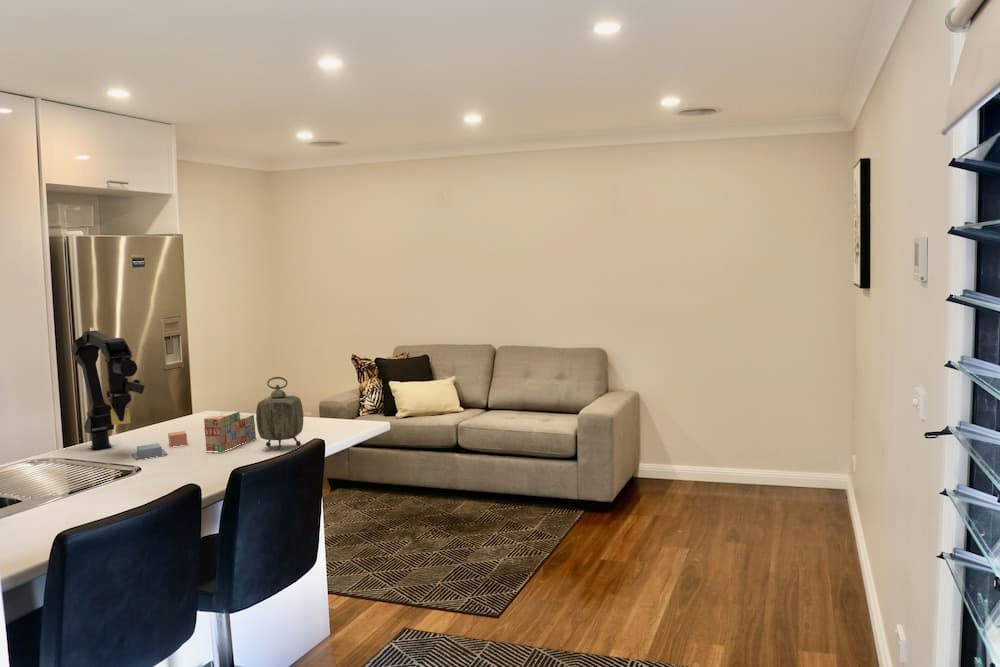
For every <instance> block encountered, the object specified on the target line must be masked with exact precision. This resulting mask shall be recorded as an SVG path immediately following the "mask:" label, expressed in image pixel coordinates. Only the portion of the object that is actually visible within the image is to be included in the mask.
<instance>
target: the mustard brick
mask: <svg viewBox="0 0 1000 667" xmlns="http://www.w3.org/2000/svg"><path fill="white" fill-rule="evenodd" d="M110 411H111V422H112V424H113V425H114V426H116V425H123V424H124V425H125V424H131V414H130V409H129V408H128V407H125V414H124V420H123V421H120V420H119V418H118V416H117V414H116V412H115V410H113V409H112V410H110Z"/></svg>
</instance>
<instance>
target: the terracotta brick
mask: <svg viewBox="0 0 1000 667" xmlns="http://www.w3.org/2000/svg"><path fill="white" fill-rule="evenodd" d="M167 436H168V446H169V445H170V446H171V447H173V446H180V445H187V446H188V438H187V437H188V435H187V432H186V431H184V430H183V431H175V432H168V433H167ZM170 446H169V447H170ZM171 447H170V448H171Z"/></svg>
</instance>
